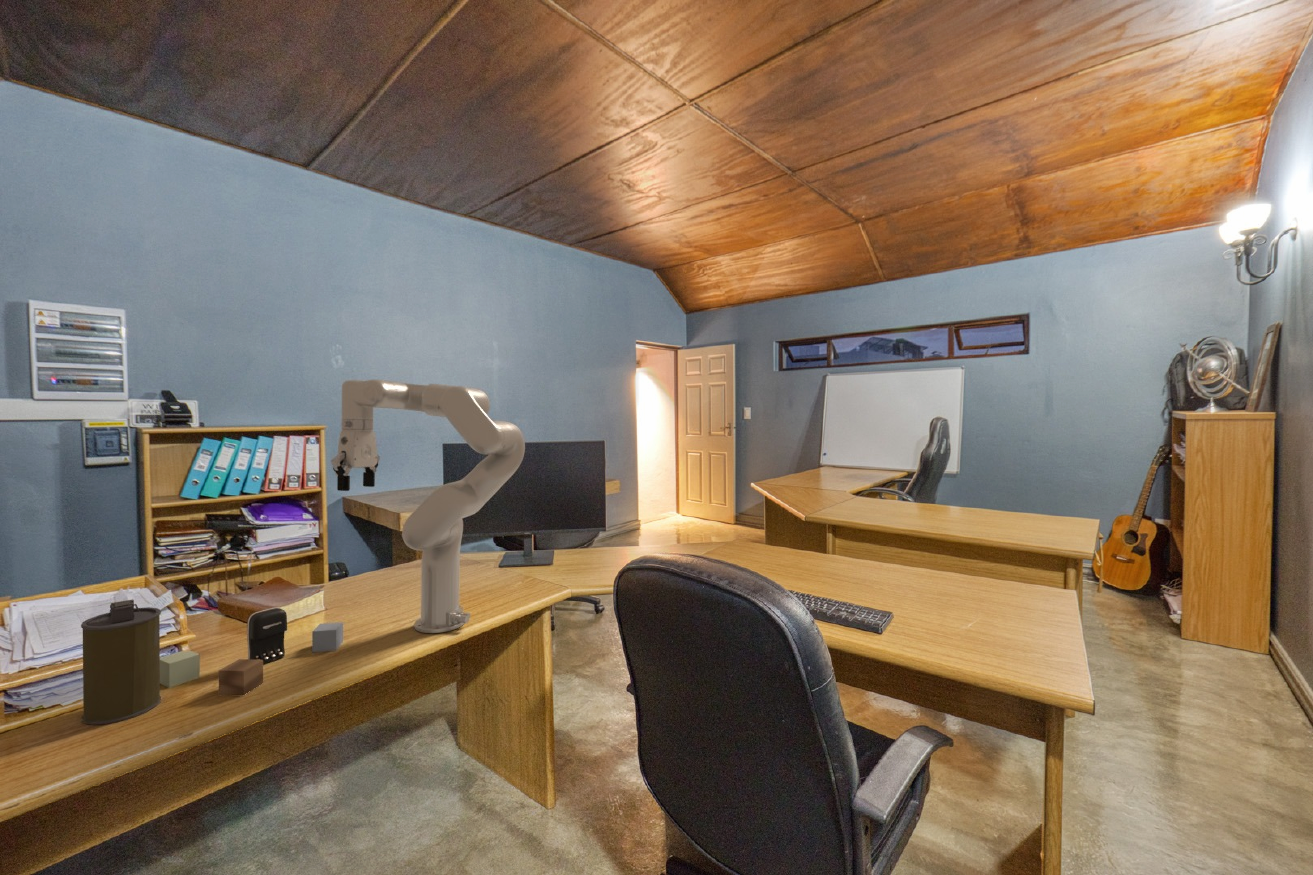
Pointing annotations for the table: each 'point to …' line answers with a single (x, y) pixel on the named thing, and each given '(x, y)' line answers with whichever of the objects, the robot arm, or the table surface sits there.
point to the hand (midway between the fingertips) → (356, 488)
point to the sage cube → (179, 668)
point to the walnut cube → (240, 677)
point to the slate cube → (327, 637)
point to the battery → (266, 634)
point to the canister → (121, 663)
